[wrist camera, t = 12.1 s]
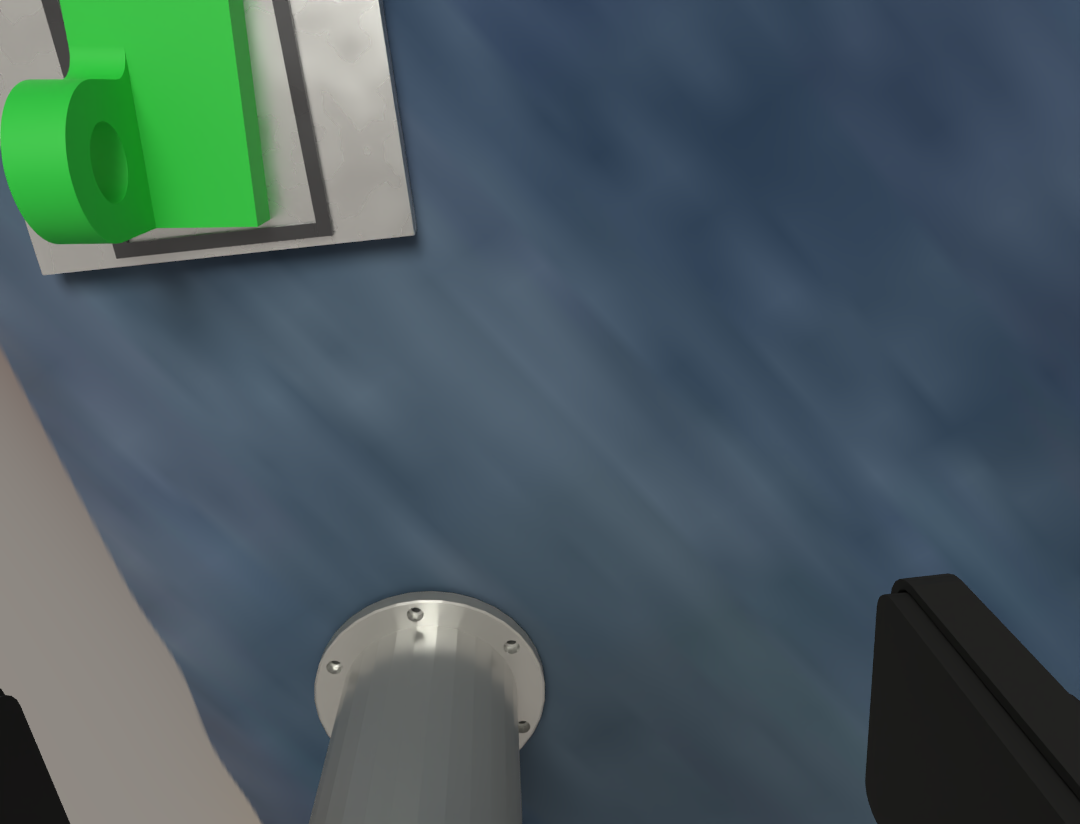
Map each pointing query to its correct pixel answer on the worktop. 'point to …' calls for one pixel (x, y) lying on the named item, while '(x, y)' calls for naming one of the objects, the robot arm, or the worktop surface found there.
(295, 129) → the flange
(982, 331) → the worktop surface
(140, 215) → the mechanical part
